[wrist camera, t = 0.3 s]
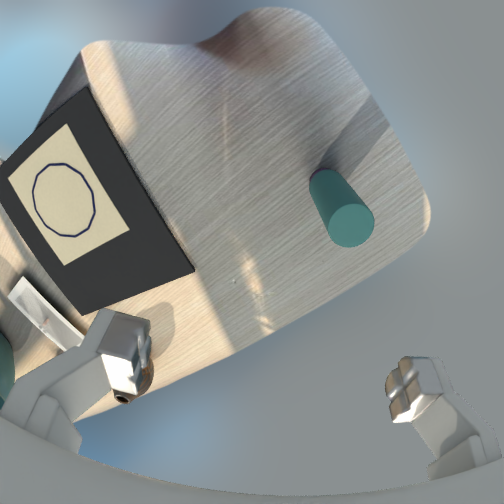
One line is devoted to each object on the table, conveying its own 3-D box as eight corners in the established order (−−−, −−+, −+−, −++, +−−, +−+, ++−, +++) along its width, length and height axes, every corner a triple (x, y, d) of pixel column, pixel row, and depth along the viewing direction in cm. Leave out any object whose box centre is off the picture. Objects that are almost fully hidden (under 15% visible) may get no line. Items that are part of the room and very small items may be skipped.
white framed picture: (26, 271, 37) (19, 280, 35) (95, 338, 43) (90, 348, 41) (10, 292, 39) (3, 300, 37) (72, 352, 45) (68, 361, 43)
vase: (162, 369, 46) (152, 414, 38) (124, 366, 46) (110, 409, 39) (151, 340, 42) (136, 388, 35) (110, 338, 43) (91, 383, 35)
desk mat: (-10, 179, 29) (-13, 181, 29) (87, 86, 25) (85, 87, 24) (83, 314, 40) (81, 317, 40) (195, 270, 36) (194, 272, 35)
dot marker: (301, 172, 30) (321, 214, 21) (334, 159, 29) (368, 196, 21) (313, 203, 32) (336, 254, 23) (345, 191, 31) (379, 237, 22)
